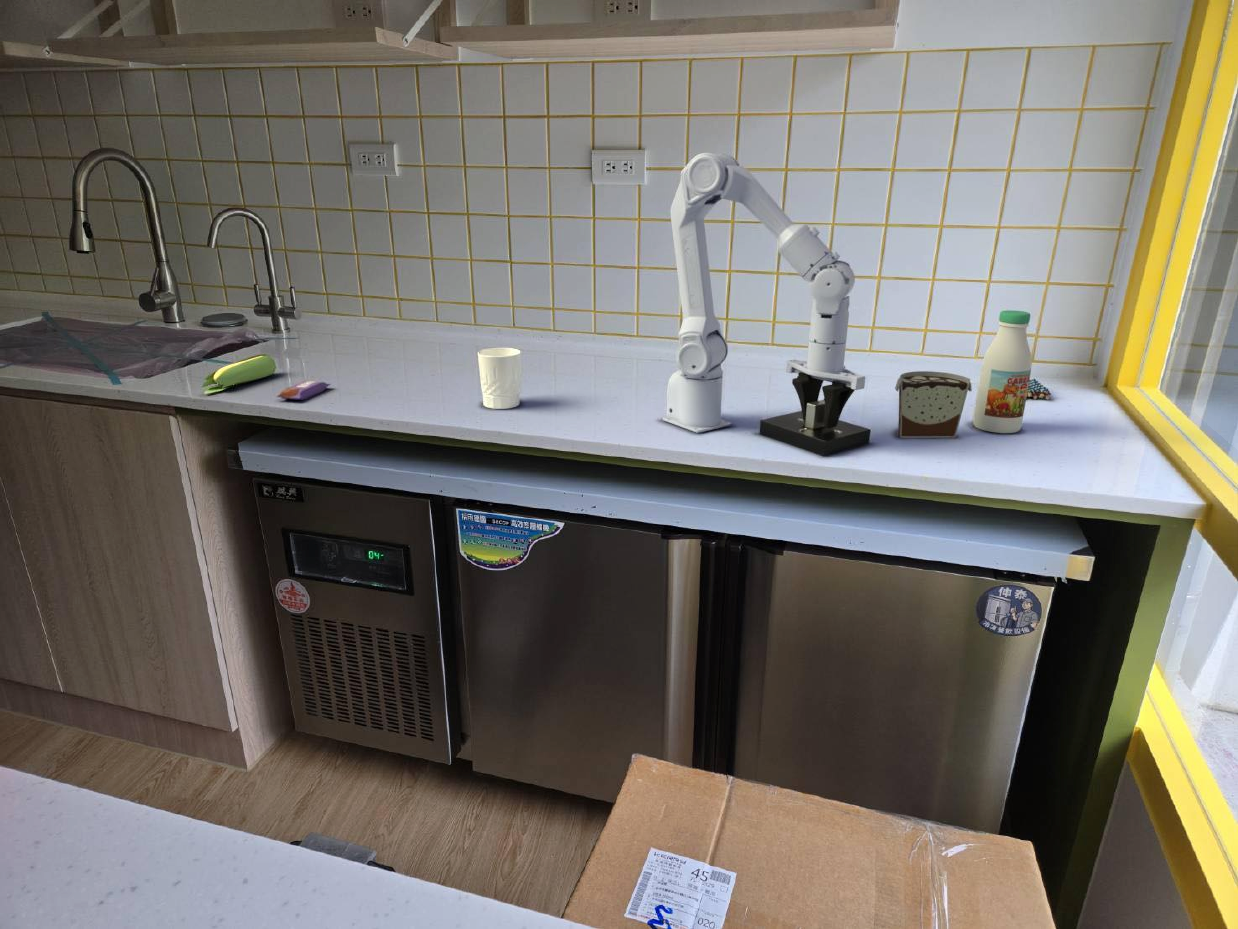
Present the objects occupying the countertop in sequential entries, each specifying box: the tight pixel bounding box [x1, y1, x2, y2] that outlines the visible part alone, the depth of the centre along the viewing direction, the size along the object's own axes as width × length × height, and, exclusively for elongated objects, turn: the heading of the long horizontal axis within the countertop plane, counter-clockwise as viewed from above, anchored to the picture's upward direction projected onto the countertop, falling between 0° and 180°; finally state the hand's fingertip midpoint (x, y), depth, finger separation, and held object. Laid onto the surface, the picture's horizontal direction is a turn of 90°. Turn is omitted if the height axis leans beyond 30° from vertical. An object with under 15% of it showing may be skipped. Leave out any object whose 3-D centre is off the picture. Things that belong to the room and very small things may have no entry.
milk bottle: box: [972, 309, 1033, 434], centre depth 139 cm, size 8×8×20 cm
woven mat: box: [1026, 378, 1052, 400], centre depth 164 cm, size 10×11×2 cm
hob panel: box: [759, 410, 872, 457], centre depth 135 cm, size 14×11×3 cm
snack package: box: [275, 380, 332, 401], centre depth 159 cm, size 12×2×5 cm
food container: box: [894, 370, 973, 439], centre depth 138 cm, size 12×6×10 cm, turn 92°
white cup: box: [477, 347, 522, 410], centre depth 152 cm, size 8×8×10 cm
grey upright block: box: [805, 398, 825, 429], centre depth 133 cm, size 5×2×4 cm, turn 126°
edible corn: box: [201, 353, 277, 395], centre depth 166 cm, size 5×20×5 cm, turn 163°
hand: (819, 423), depth 133 cm, fingers open, 4 cm apart
